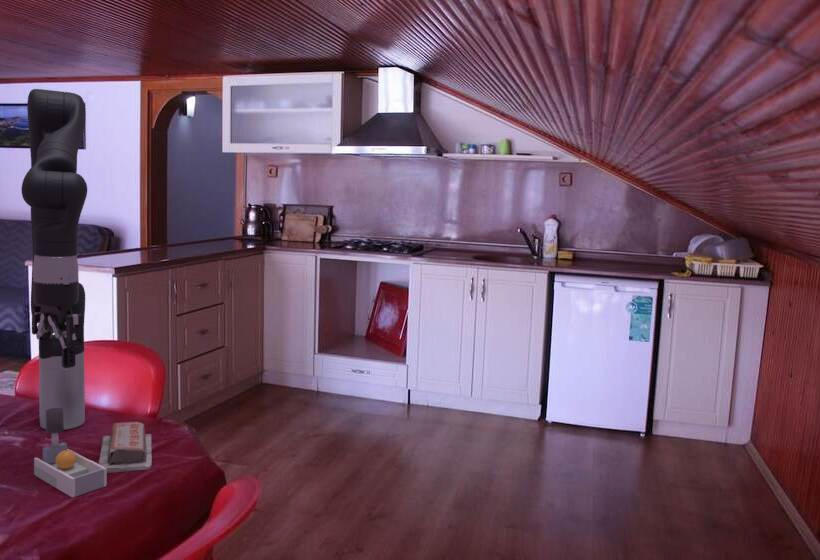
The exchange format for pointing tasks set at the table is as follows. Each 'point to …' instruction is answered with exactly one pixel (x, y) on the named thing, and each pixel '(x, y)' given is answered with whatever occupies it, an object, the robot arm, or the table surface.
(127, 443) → the packaged product
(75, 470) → the tray
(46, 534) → the table surface
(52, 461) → the striker
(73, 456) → the ball
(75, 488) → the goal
